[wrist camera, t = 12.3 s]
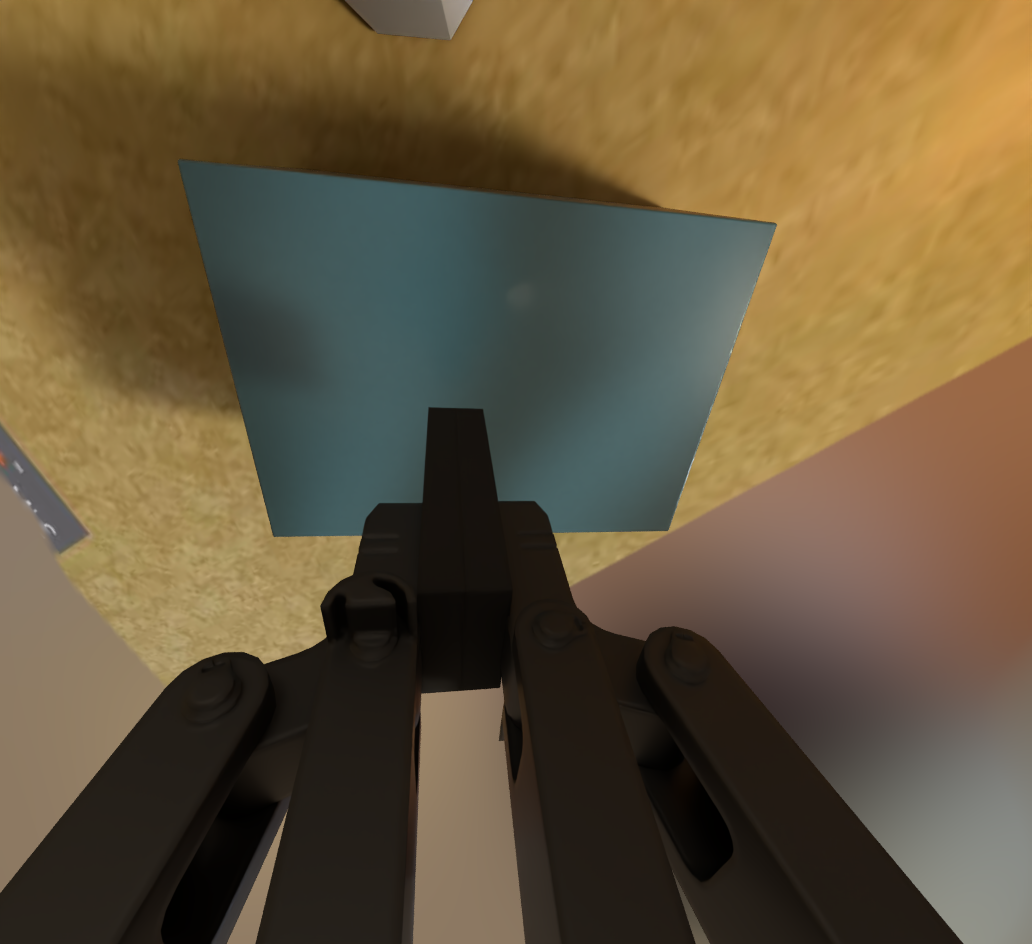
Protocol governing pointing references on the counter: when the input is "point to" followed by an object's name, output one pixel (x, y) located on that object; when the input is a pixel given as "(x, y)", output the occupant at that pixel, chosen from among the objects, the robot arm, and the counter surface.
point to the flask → (413, 16)
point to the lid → (467, 339)
